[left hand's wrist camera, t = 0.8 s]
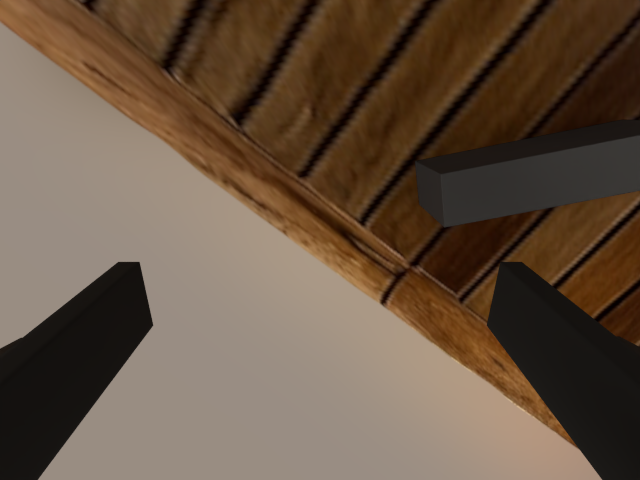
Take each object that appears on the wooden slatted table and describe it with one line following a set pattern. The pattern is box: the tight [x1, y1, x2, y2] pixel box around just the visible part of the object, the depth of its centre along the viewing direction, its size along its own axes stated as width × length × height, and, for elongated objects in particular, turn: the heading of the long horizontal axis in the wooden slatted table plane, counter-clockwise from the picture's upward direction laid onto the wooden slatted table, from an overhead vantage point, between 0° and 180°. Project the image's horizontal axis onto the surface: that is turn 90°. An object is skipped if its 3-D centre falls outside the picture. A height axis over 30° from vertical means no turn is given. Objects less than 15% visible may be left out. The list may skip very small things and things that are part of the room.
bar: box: [415, 120, 640, 227], centre depth 34 cm, size 22×5×8 cm, turn 101°
